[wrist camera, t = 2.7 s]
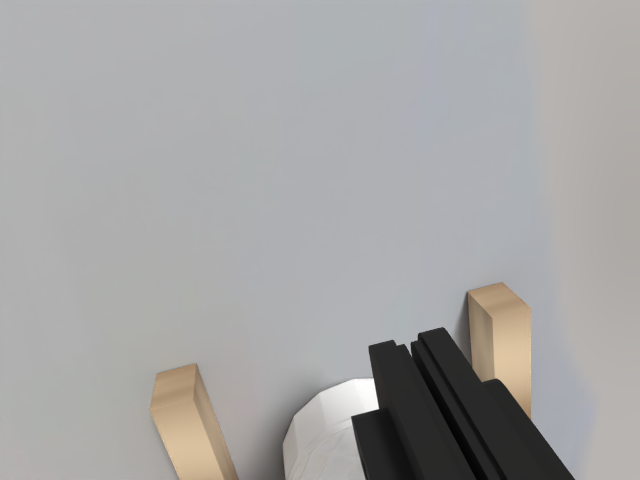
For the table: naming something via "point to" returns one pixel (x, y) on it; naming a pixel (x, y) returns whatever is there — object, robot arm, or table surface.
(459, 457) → the robot arm
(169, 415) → the guide channel
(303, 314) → the table surface
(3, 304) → the table surface
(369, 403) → the white cup
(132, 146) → the table surface
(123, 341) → the table surface
